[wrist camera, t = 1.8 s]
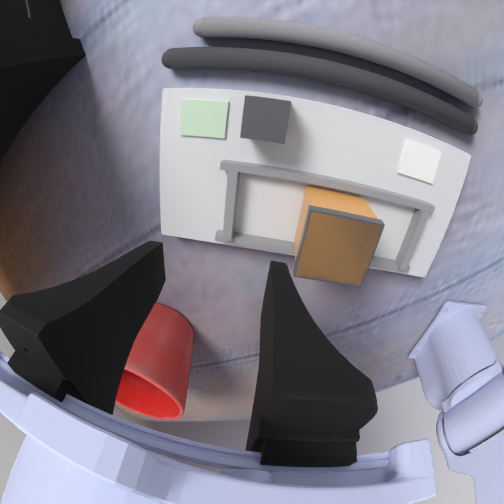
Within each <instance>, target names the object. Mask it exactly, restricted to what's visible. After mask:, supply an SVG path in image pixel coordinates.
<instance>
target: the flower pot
mask: <svg viewBox="0 0 504 504" xmlns="http://www.w3.org/2000/svg"><path fill="white" fill-rule="evenodd" d="M193 341H194V333H193V329H192V327H191V325H190V324H189V322H188V321H187V320H186V319H185V318H184V317H183V316H182V315H181V314H180V313H178V312H177V311H176V310H174V309H172V308H170V307H168V306H165V305H161V304H159V303H155V304H154V306H153V308H152V310H151V312H150V313H149V315H148V317H147V319H146V320H145V322H144V324H143V326H142V328H141V329H140V331H139V333H138V335H137V337H136V339H135V341H134V344H133V346H132V349H131V351H130V354H129V357H128V359H127V362H126V365H125V368H124V371H123V374H122V378H121V381H120V385H119V388H118V392H117V396H116V402H117V403H119V404H121V405H123V406H124V407H126V408H128V409H130V410H133V411H135V412H138V413H140V414H143V415H146V416H149V417H154V418H158V419H166V420H167V419H177V418H180V417H181V416H182V415H183V414H184V410H185V403H186V397H187V389H188V382H189V375H190V367H191V360H192V351H193Z"/></svg>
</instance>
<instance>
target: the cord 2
mask: <svg viewBox="0 0 504 504" xmlns="http://www.w3.org/2000/svg"><path fill="white" fill-rule="evenodd" d="M162 63H163V65H164V66H165V67H167V68H169V69H182V68H213V69H235V70H248V71H259V72H268V73H276V74H283V75H289V76H296V77H301V78H307V79H312V80H317V81H322V82H326V83H331V84H335V85H339V86H343V87H347V88H351V89H354V90H358V91H362V92H365V93H368V94H372V95H375V96H378V97H381V98H384V99H387V100H390V101H393V102H396V103H398V104H401V105H404V106H406V107H409V108H412V109H414V110H417V111H419V112H421V113H424V114H426V115H429V116H431V117H433V118H435V119H437V120H440V121H442V122H444V123H446V124H448V125H450V126H452V127H454V128H456V129H458V130H460V131H462V132H464V133H466V134H468V135H473V134H475V133H476V132H477V129H478V124H477V121H476V120H475V119H474V118H473V117H472V116H471V115H469V114H467V113H465V112H464V111H462V110H460V109H458V108H456V107H454V106H452V105H450V104H449V103H447V102H445V101H443V100H441V99H438V98H436V97H434V96H432V95H430V94H428V93H425V92H423V91H421V90H419V89H416V88H414V87H411V86H409V85H407V84H404V83H401V82H399V81H396V80H393V79H391V78H388V77H385V76H382V75H379V74H376V73H373V72H370V71H367V70H363V69H360V68H356V67H353V66H349V65H345V64H341V63H337V62H333V61H329V60H325V59H320V58H315V57H310V56H304V55H299V54H292V53H286V52H278V51H270V50H261V49H249V48H232V47H186V48H172V49H169V50H167V51H166V52H165V53H164V54H163V56H162Z"/></svg>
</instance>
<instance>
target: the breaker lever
mask: <svg viewBox="0 0 504 504" xmlns="http://www.w3.org/2000/svg"><path fill="white" fill-rule="evenodd" d="M384 226H385V224H384V223H383V221H382V220H380V219H378V218H377V216H376V215H375V214H374V212H373V211H372V209H371V208H370V206H369V205H368V203H367V202H366V200H365V199H364V198H362V197H357V196H353V195H348V194H344V193H339V192H334V191H330V190H325V189H320V188H314V187H309V186H306V188H305V193H304V198H303V203H302V207H301V212H300V217H299V221H298V226H297V231H296V235H295V266H294V270H293V277H299V278H306V279H312V280H319V281H325V282H332V283H338V284H345V285H352V286H359V287H361V285H362V283H363V280H364V278H365V276H366V273H367V271H368V268H369V266H370V263H371V261H372V258H373V256H374V253H375V251H376V248H377V245H378V243H379V240H380V237H381V235H382V232H383V229H384Z"/></svg>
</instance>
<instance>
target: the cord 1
mask: <svg viewBox="0 0 504 504" xmlns="http://www.w3.org/2000/svg"><path fill="white" fill-rule="evenodd" d="M193 31H194V33H195V34H196V35H197V36H200V37H230V38H250V39H262V40H272V41H280V42H287V43H294V44H300V45H306V46H311V47H317V48H321V49H326V50H330V51H335V52H339V53H343V54H347V55H350V56H354V57H358V58H361V59H364V60H368V61H371V62H374V63H377V64H380V65H383V66H386V67H388V68H391V69H394V70H397V71H399V72H402V73H404V74H407V75H409V76H412V77H414V78H416V79H419V80H421V81H423V82H425V83H428V84H430V85H432V86H434V87H436V88H438V89H440V90H442V91H444V92H446V93H448V94H450V95H452V96H454V97H456V98H457V99H459V100H461V101H463V102H465V103H466V104H468V105H470V106H472V107H475V108H476V107H479V106H481V104H482V96H481V94H480V92H479V91H478V90H476V89H475V88H473V87H472V86H470V85H468V84H467V83H465V82H463V81H462V80H460V79H458V78H456V77H455V76H453V75H451V74H449V73H447V72H445V71H444V70H442V69H440V68H438V67H436V66H434V65H432V64H430V63H427V62H425V61H423V60H421V59H419V58H417V57H414V56H412V55H410V54H407V53H405V52H402V51H400V50H397V49H395V48H392V47H389V46H387V45H384V44H381V43H378V42H375V41H372V40H369V39H366V38H362V37H359V36H356V35H352V34H348V33H345V32H341V31H337V30H333V29H328V28H324V27H319V26H314V25H308V24H302V23H296V22H289V21H282V20H273V19H262V18H248V17H203V18H200V19H198V20H197V21H196V22H195V23H194V25H193Z"/></svg>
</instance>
